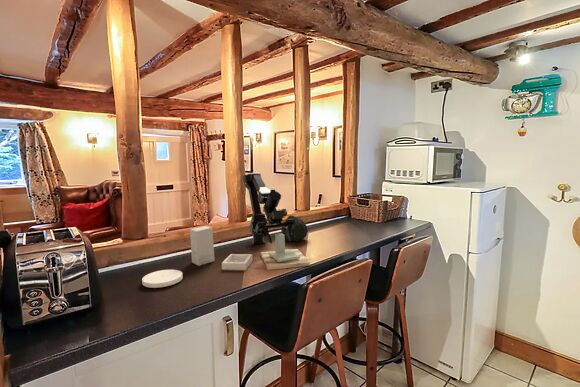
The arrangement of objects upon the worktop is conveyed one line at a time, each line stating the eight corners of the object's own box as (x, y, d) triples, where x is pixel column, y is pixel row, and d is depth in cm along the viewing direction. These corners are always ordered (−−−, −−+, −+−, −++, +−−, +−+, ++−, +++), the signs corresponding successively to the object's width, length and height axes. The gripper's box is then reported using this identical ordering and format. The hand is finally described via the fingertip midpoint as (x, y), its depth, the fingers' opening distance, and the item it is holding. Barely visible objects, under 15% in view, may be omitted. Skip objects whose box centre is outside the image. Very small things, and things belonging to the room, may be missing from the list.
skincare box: (207, 258, 143) (206, 225, 142) (215, 261, 139) (213, 227, 137) (191, 262, 138) (189, 228, 136) (198, 266, 133) (196, 230, 131)
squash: (312, 227, 178) (294, 208, 177) (311, 234, 163) (292, 214, 163) (294, 243, 181) (277, 224, 180) (292, 252, 166) (273, 231, 165)
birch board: (260, 255, 146) (260, 252, 146) (297, 252, 150) (297, 249, 150) (267, 269, 127) (267, 266, 126) (309, 265, 131) (309, 262, 131)
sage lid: (268, 255, 141) (267, 234, 140) (288, 252, 145) (288, 232, 144) (278, 263, 130) (277, 240, 129) (299, 259, 134) (299, 237, 133)
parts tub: (230, 260, 139) (230, 254, 139) (252, 260, 138) (252, 254, 138) (222, 270, 128) (221, 262, 127) (245, 270, 126) (245, 263, 126)
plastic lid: (189, 276, 122) (189, 270, 122) (168, 291, 108) (167, 284, 108) (158, 274, 125) (158, 268, 125) (133, 288, 111) (133, 282, 111)
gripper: (256, 204, 138) (265, 234, 129) (294, 201, 146) (305, 229, 137) (251, 219, 146) (259, 248, 137) (287, 215, 154) (297, 242, 145)
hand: (281, 241), depth 139 cm, fingers open, 9 cm apart
